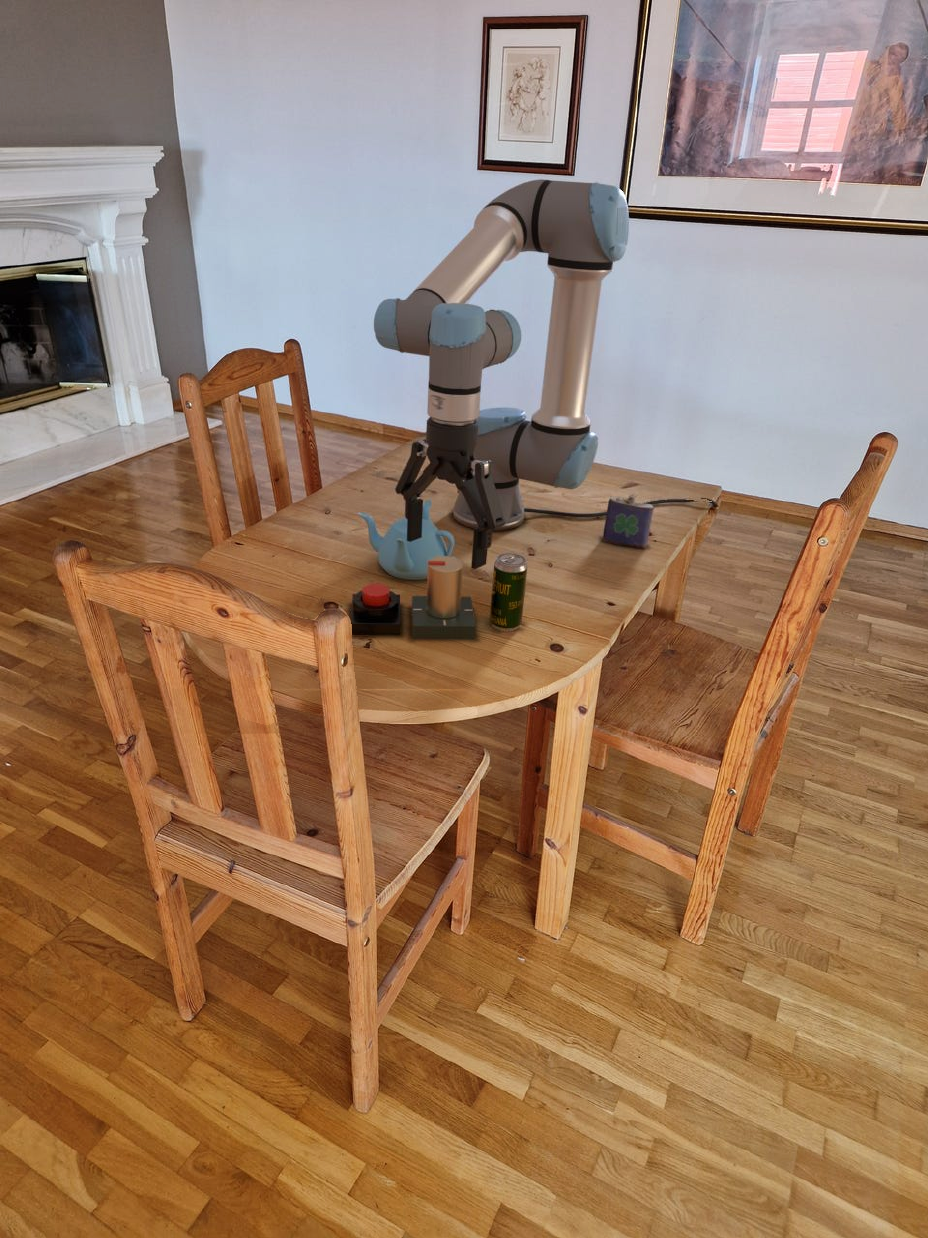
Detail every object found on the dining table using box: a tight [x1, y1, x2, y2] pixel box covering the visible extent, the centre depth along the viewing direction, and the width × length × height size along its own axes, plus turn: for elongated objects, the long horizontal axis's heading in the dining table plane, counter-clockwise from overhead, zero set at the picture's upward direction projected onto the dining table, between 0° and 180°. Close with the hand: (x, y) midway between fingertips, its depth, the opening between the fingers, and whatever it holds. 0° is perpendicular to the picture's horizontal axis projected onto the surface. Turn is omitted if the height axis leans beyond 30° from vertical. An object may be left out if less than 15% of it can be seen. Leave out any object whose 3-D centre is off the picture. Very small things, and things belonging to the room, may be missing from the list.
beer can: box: [489, 552, 529, 632], centre depth 132 cm, size 5×5×12 cm
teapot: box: [358, 499, 456, 581], centre depth 149 cm, size 15×15×10 cm
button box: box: [349, 590, 402, 636], centre depth 133 cm, size 8×10×4 cm
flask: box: [602, 493, 655, 549], centre depth 165 cm, size 9×3×11 cm, turn 68°
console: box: [411, 595, 477, 640], centre depth 134 cm, size 10×10×3 cm
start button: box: [361, 583, 391, 606], centre depth 132 cm, size 4×4×2 cm
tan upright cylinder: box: [426, 556, 464, 619], centre depth 131 cm, size 6×6×9 cm
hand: (445, 552), depth 128 cm, fingers open, 13 cm apart
